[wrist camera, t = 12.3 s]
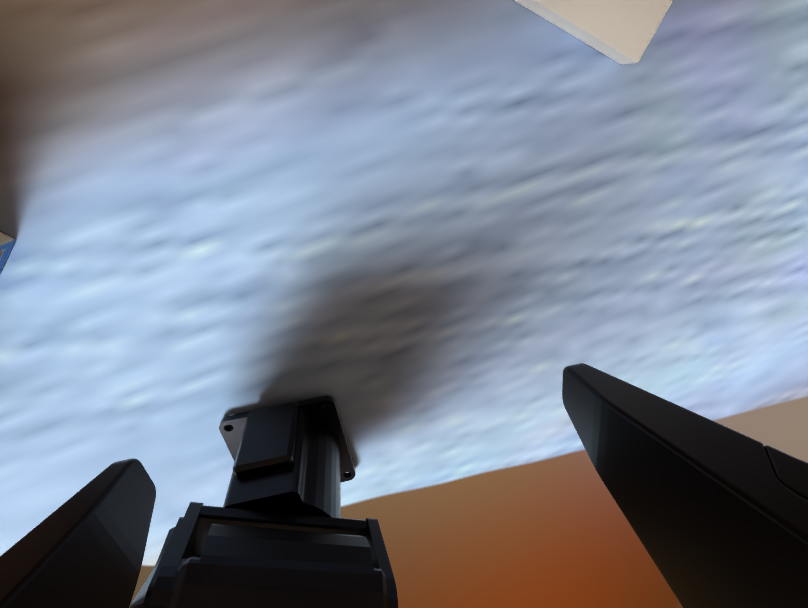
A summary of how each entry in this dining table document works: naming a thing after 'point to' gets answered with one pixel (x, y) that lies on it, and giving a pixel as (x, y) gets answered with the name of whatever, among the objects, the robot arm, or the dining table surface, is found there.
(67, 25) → the dining table surface
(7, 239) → the patterned box
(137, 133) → the dining table surface
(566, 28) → the board
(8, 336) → the dining table surface
